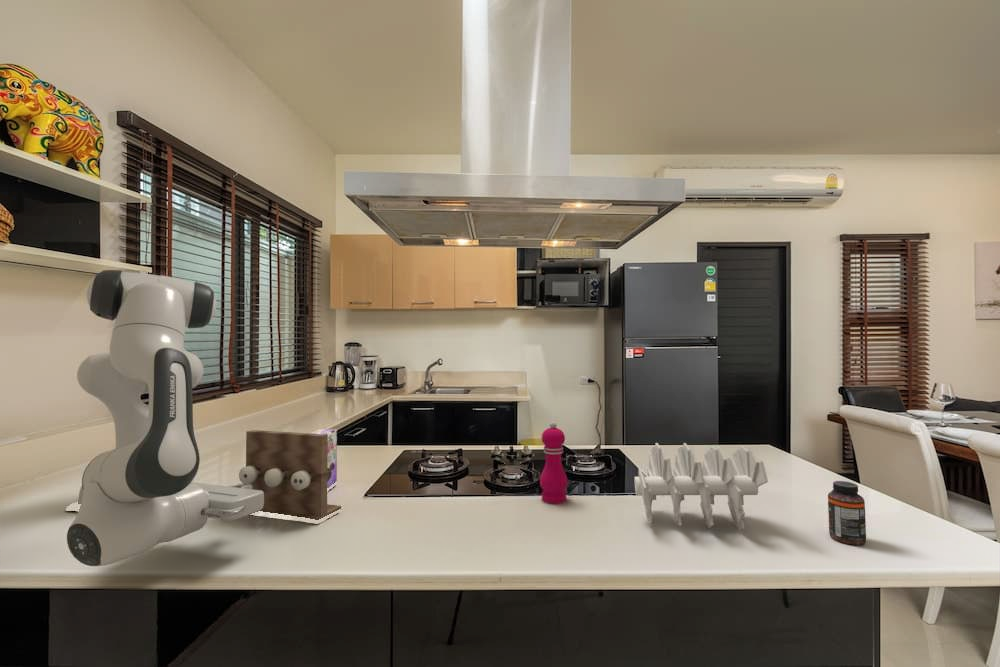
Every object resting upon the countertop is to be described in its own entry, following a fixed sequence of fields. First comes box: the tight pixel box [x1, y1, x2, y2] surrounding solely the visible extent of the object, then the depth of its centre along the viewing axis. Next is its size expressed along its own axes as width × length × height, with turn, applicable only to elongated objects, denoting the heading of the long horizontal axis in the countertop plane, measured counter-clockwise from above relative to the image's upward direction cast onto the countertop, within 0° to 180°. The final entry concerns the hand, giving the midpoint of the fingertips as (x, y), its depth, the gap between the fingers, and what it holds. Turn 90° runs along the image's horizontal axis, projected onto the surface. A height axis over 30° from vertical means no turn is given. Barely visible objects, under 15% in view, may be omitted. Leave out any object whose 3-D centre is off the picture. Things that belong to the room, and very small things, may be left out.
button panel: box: [245, 429, 342, 520], centre depth 108 cm, size 22×8×20 cm, turn 72°
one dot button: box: [238, 466, 261, 484], centre depth 107 cm, size 4×6×4 cm
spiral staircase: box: [633, 442, 769, 530], centre depth 100 cm, size 18×18×25 cm
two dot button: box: [291, 470, 312, 490], centre depth 102 cm, size 4×6×4 cm
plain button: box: [264, 468, 286, 487], centre depth 104 cm, size 4×6×4 cm
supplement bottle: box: [827, 480, 867, 546], centre depth 91 cm, size 6×6×11 cm
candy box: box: [309, 428, 338, 488], centre depth 123 cm, size 14×6×16 cm, turn 179°
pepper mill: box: [539, 421, 569, 504], centre depth 116 cm, size 7×7×20 cm
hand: (247, 487), depth 96 cm, fingers closed
